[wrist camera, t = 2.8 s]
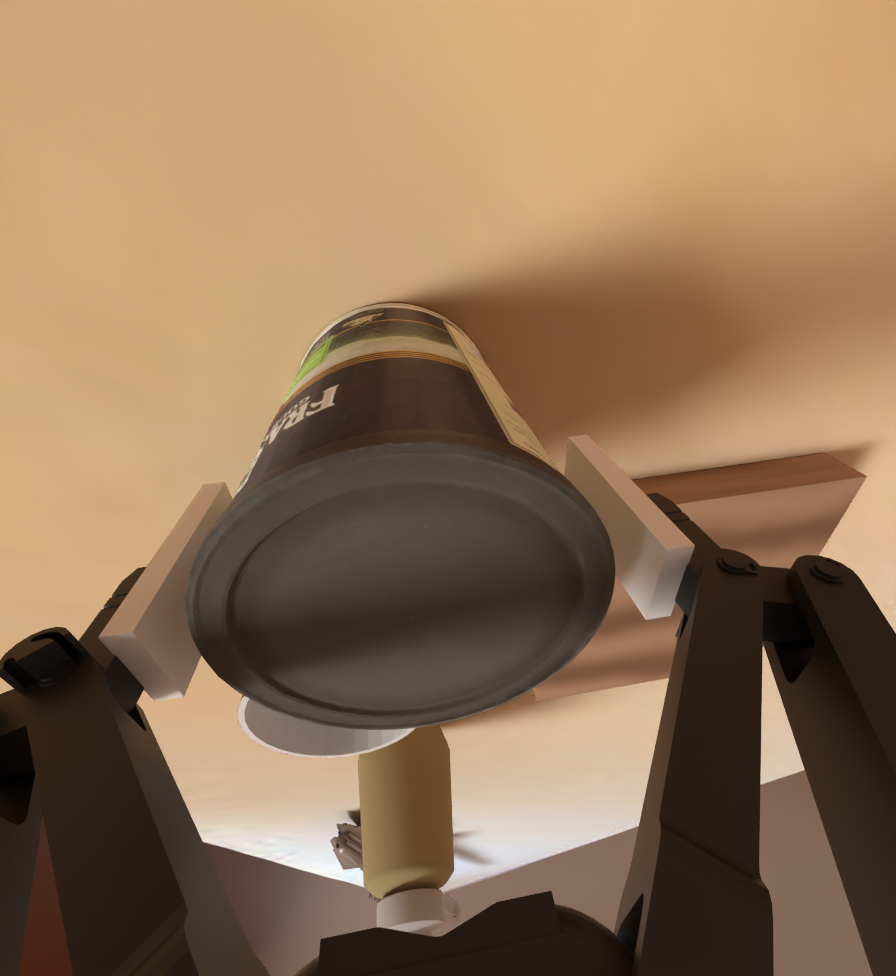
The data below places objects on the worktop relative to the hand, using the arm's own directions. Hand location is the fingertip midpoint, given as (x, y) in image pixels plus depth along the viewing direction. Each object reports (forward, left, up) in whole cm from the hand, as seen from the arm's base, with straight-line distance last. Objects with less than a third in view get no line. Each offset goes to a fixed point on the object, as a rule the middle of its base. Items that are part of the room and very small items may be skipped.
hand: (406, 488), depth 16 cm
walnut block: (+17, +18, -7) cm, 25 cm away
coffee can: (0, 0, -7) cm, 7 cm away
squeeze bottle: (+31, -4, -7) cm, 32 cm away
